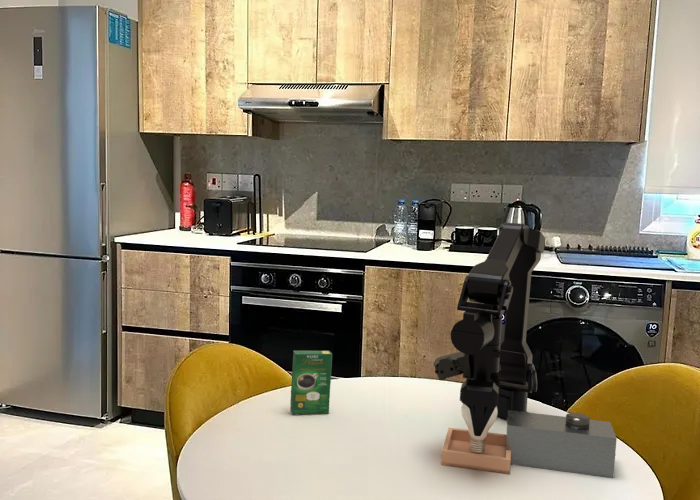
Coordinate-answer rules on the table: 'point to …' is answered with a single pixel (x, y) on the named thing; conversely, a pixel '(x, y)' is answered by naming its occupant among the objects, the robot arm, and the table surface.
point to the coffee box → (311, 382)
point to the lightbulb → (475, 441)
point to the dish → (461, 455)
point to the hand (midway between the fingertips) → (478, 426)
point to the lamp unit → (561, 443)
